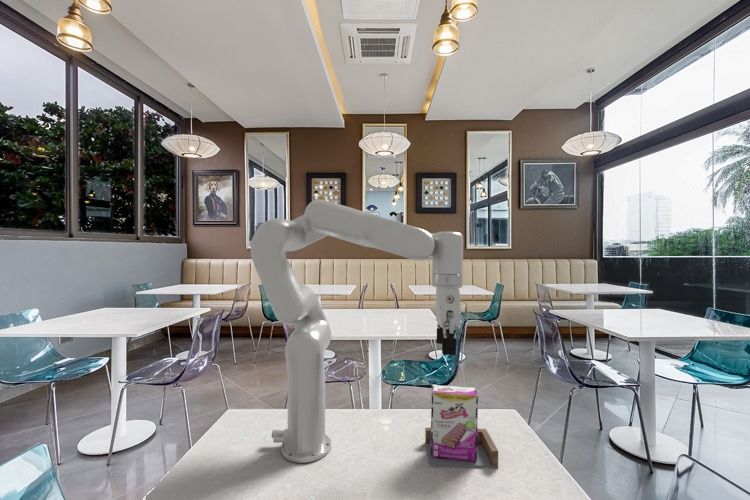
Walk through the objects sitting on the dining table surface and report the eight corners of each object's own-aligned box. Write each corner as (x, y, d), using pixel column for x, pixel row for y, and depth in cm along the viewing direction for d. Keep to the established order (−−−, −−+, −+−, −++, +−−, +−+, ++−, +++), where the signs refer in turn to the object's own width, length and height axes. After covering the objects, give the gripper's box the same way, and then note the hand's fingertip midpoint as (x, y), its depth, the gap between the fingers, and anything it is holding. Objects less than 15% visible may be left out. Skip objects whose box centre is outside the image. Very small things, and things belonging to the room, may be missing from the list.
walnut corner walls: (430, 466, 81) (430, 449, 81) (425, 442, 91) (425, 427, 91) (498, 468, 80) (498, 451, 80) (485, 443, 90) (485, 428, 90)
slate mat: (430, 466, 81) (430, 464, 81) (425, 442, 91) (425, 440, 91) (498, 468, 80) (498, 466, 80) (485, 443, 90) (485, 442, 90)
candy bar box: (430, 459, 83) (430, 391, 83) (430, 447, 88) (430, 383, 88) (478, 463, 81) (478, 394, 81) (475, 451, 86) (475, 386, 86)
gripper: (470, 284, 77) (468, 360, 77) (455, 278, 94) (454, 340, 94) (436, 283, 77) (435, 359, 77) (428, 277, 95) (427, 339, 95)
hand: (445, 348), depth 86 cm, fingers open, 9 cm apart
